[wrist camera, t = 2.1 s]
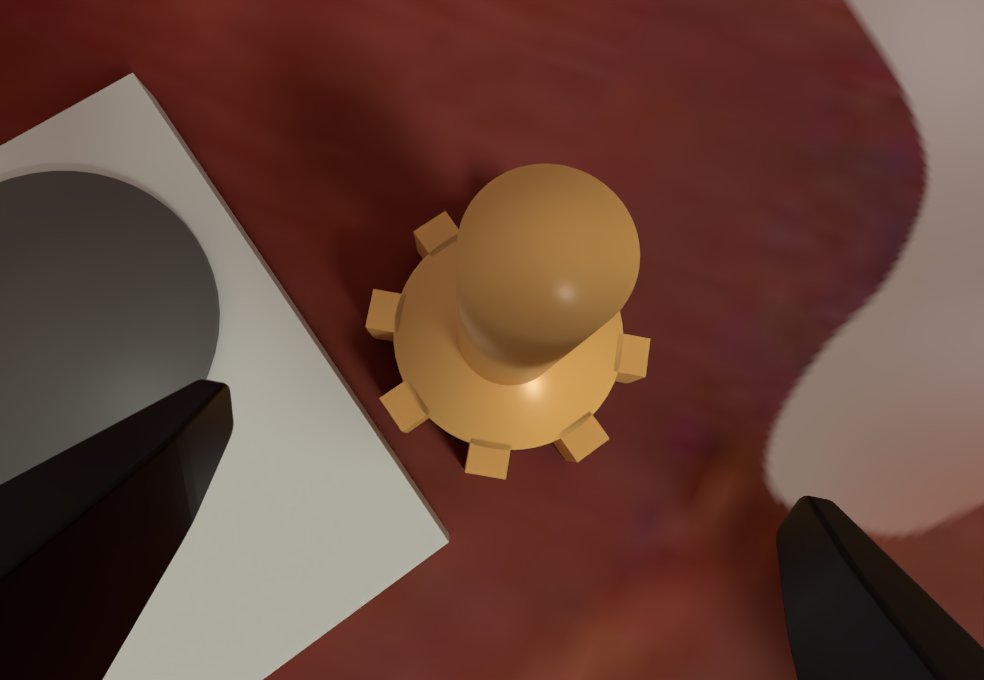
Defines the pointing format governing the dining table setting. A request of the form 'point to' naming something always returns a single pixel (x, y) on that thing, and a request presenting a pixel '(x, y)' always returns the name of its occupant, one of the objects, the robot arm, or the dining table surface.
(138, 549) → the robot arm
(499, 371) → the planet gear
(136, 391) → the carrier plate
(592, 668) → the dining table surface
